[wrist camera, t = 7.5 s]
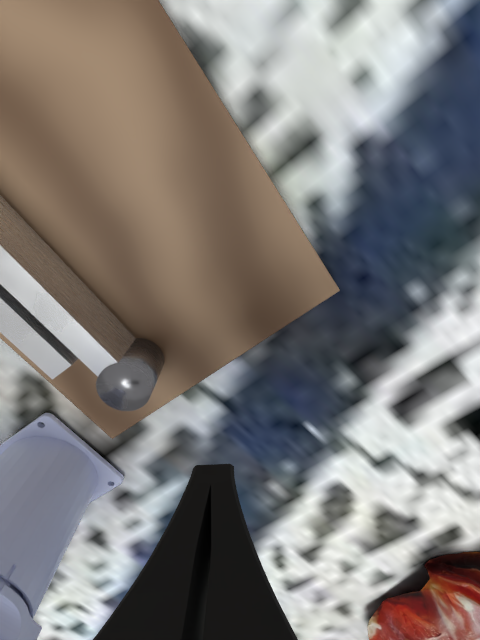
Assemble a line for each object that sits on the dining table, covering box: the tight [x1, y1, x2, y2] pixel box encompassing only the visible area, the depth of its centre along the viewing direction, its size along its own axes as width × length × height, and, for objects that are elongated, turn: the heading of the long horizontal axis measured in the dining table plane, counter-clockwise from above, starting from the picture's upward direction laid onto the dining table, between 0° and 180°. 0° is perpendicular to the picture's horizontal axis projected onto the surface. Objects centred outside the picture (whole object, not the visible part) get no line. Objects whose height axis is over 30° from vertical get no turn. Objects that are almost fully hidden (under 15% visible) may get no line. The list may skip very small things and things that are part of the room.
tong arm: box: [0, 195, 164, 411], centre depth 15 cm, size 19×3×3 cm, turn 36°
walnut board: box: [0, 0, 340, 439], centre depth 17 cm, size 18×24×2 cm
